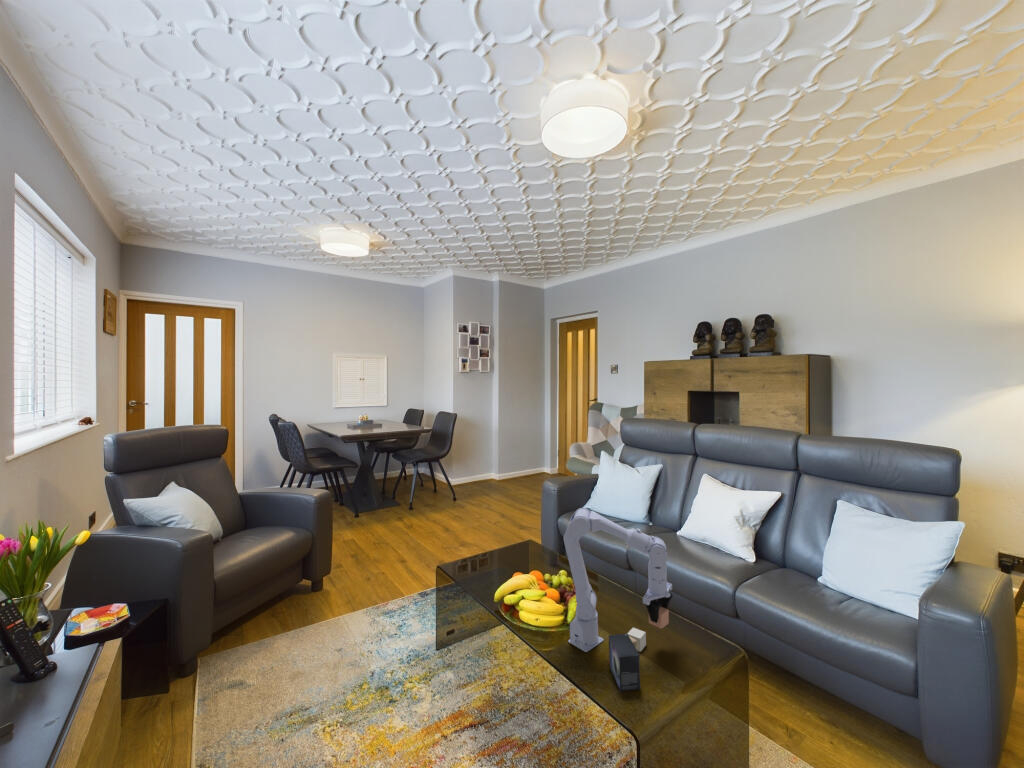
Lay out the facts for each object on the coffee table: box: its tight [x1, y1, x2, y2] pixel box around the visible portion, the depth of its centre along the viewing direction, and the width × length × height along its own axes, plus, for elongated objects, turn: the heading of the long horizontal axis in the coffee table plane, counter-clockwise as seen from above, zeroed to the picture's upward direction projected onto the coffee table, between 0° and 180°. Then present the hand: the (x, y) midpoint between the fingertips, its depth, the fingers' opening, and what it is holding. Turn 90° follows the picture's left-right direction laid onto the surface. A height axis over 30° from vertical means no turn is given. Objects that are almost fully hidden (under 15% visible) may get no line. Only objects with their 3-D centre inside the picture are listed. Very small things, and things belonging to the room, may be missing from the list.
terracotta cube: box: [648, 606, 670, 630], centre depth 146 cm, size 4×4×4 cm
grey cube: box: [626, 627, 647, 653], centre depth 148 cm, size 4×4×4 cm
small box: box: [608, 633, 642, 692], centre depth 133 cm, size 11×6×10 cm, turn 5°
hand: (658, 618), depth 146 cm, fingers closed on terracotta cube, 4 cm apart
